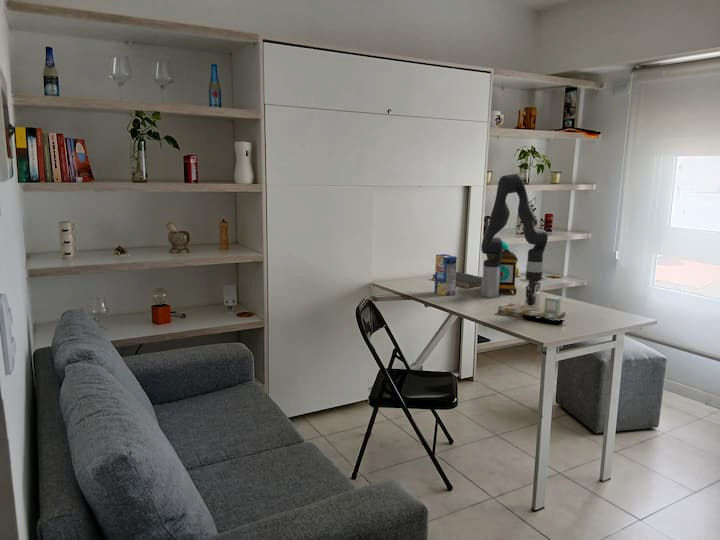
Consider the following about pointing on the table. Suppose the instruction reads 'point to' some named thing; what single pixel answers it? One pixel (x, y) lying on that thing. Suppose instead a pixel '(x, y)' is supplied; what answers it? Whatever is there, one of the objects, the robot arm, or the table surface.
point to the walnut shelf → (526, 311)
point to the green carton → (552, 305)
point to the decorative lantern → (507, 269)
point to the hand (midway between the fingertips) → (531, 304)
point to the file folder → (467, 280)
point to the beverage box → (445, 274)
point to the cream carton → (535, 301)
